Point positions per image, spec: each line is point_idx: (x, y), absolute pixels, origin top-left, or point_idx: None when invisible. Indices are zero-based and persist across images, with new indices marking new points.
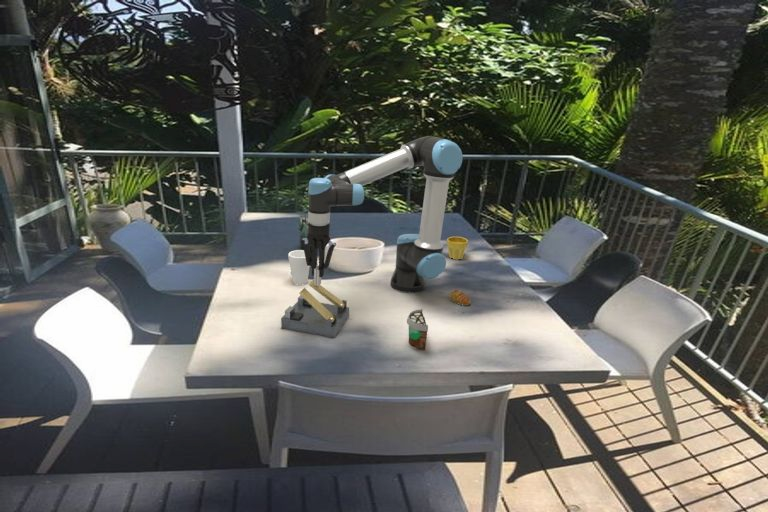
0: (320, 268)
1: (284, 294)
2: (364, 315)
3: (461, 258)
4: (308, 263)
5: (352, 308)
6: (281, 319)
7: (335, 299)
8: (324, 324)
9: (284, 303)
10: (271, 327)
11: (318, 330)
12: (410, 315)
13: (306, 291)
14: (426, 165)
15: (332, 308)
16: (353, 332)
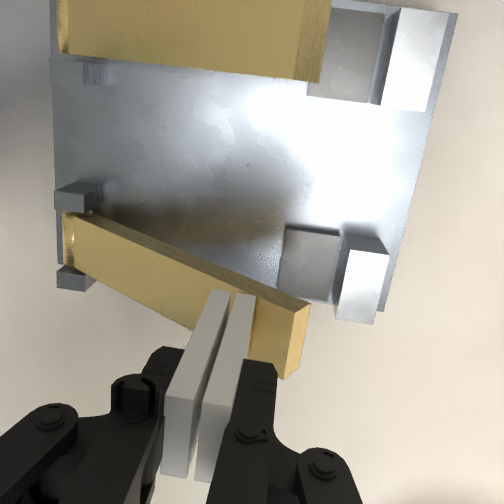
0: (127, 399)
1: (491, 420)
2: (18, 273)
3: None
4: (322, 479)
5: (99, 332)
6: (452, 14)
7: (107, 254)
8: None
9: (473, 326)
10: (501, 19)
11: None
12: None
13: (260, 45)
14: None
15: (149, 231)
16: (5, 75)
